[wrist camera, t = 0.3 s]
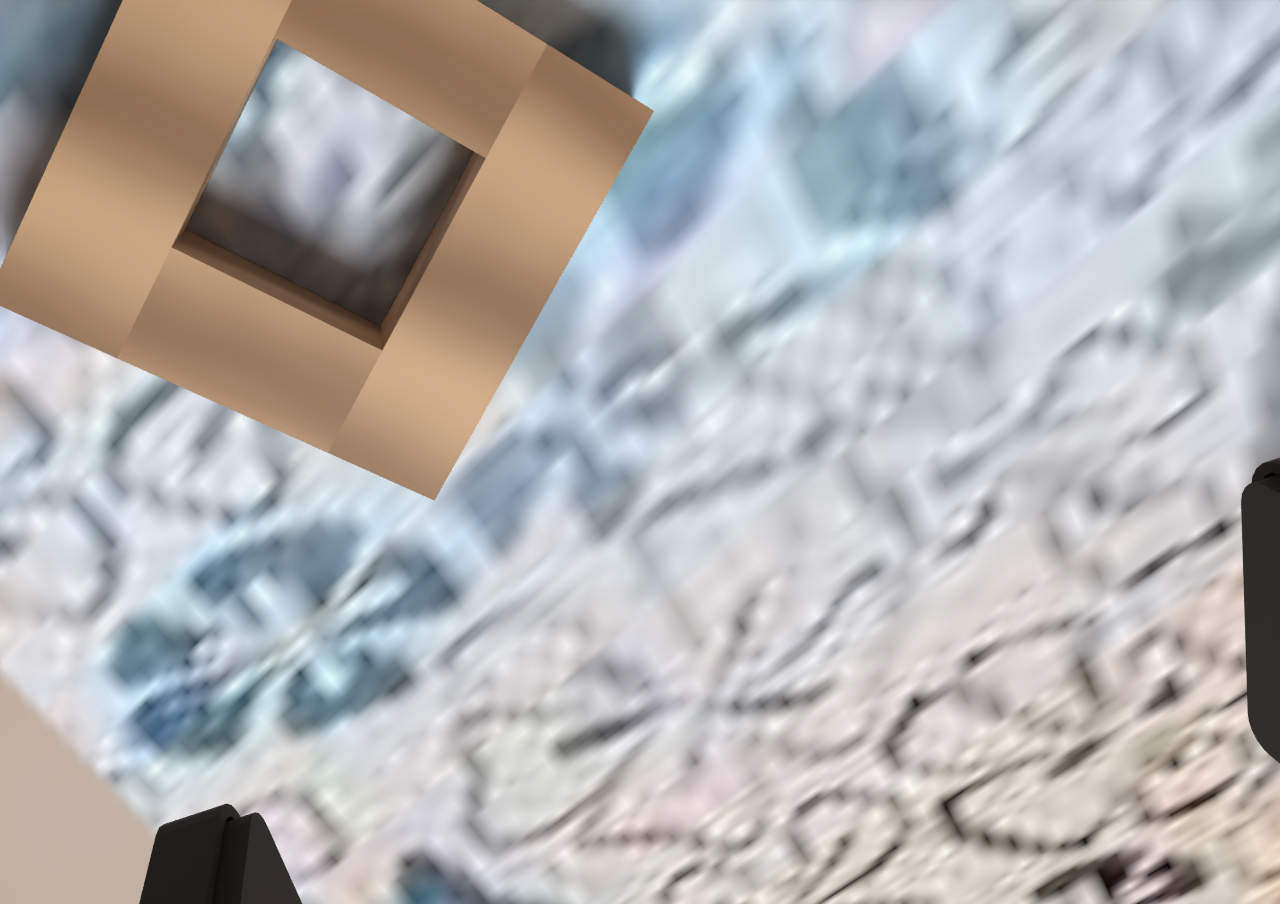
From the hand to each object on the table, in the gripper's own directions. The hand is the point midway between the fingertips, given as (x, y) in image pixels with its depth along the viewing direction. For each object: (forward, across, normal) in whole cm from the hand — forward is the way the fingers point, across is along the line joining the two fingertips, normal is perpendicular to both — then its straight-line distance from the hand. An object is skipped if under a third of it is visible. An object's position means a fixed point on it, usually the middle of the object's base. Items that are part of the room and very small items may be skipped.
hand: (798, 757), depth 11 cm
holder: (+30, +4, -2) cm, 31 cm away
